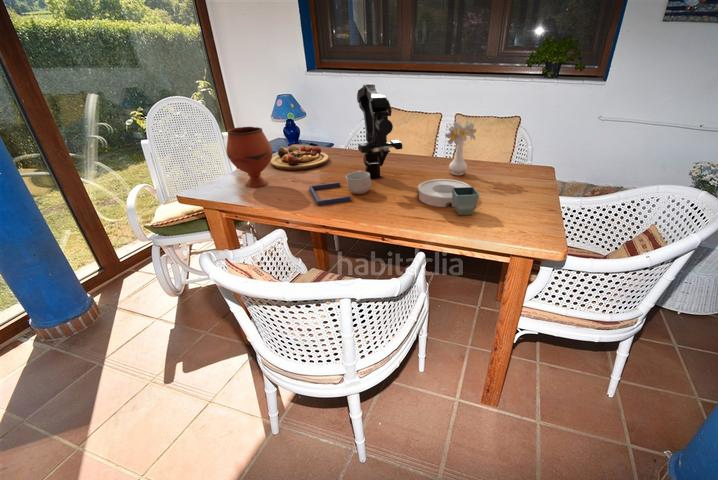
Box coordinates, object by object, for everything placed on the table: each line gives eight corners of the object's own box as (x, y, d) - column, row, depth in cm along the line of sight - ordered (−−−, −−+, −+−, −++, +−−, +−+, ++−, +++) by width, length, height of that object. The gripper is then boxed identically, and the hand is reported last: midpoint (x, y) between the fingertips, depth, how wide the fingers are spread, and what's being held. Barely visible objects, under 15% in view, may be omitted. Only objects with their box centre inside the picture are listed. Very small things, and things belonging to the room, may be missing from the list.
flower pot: (449, 208, 144) (451, 187, 139) (471, 207, 145) (473, 186, 140) (454, 217, 137) (456, 195, 132) (477, 216, 137) (479, 194, 132)
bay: (339, 185, 167) (339, 182, 166) (350, 200, 152) (350, 196, 151) (309, 189, 163) (309, 185, 162) (317, 205, 147) (317, 201, 146)
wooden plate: (312, 173, 183) (310, 157, 178) (258, 168, 191) (255, 152, 186) (338, 156, 209) (337, 142, 204) (290, 153, 216) (288, 138, 212)
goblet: (282, 186, 167) (272, 130, 153) (239, 194, 158) (224, 135, 145) (272, 175, 180) (262, 123, 167) (232, 181, 172) (218, 127, 159)
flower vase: (440, 177, 176) (443, 124, 163) (450, 167, 190) (454, 117, 177) (465, 181, 172) (471, 126, 158) (474, 170, 186) (480, 119, 173)
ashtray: (406, 197, 154) (406, 188, 152) (438, 184, 169) (438, 175, 167) (451, 211, 141) (452, 202, 139) (481, 195, 156) (482, 186, 154)
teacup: (367, 197, 155) (366, 179, 151) (343, 195, 157) (341, 177, 152) (375, 186, 166) (374, 169, 162) (353, 184, 168) (352, 168, 164)
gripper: (393, 124, 160) (394, 159, 169) (353, 127, 154) (356, 163, 163) (403, 129, 151) (402, 165, 160) (360, 132, 146) (363, 170, 154)
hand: (381, 165), depth 159 cm, fingers closed
